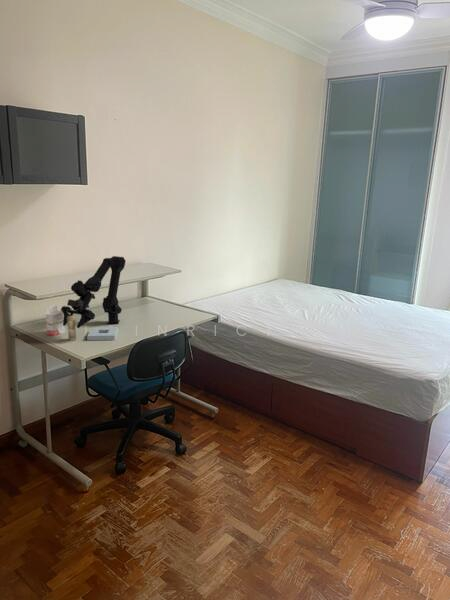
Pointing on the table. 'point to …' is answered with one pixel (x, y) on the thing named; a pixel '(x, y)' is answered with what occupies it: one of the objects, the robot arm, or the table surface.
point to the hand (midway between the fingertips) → (70, 326)
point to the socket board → (103, 333)
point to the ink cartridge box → (54, 321)
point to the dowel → (71, 328)
